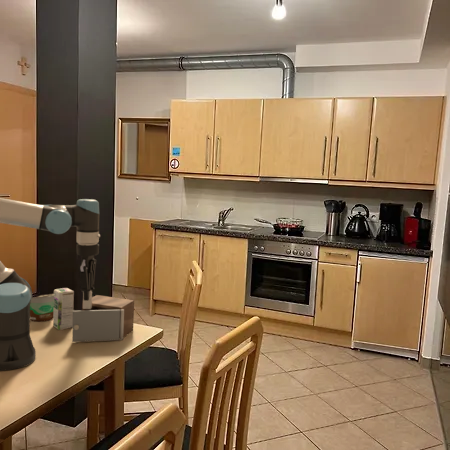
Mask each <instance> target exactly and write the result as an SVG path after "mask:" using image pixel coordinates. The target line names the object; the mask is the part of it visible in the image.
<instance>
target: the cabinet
mask: <svg viewBox="0 0 450 450" xmlns="http://www.w3.org/2000/svg"><path fill="white" fill-rule="evenodd" d="M81 303H82V304H81V310H120V315H121V309H124V329H123V339H124V338H125V337H127V336H128V335H129V334H131V333H133V331H134V319H135V318H134V317H135V316H134V315H135V313H134V312H135V300H134V299H133V300H132V299H128V298H127V299H126V298H118V297H114V296H107V295H99V294H95V296H94V295H93V296H92V308H91V309H83V301H82V302H81ZM119 340H120V331H119Z"/></svg>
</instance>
